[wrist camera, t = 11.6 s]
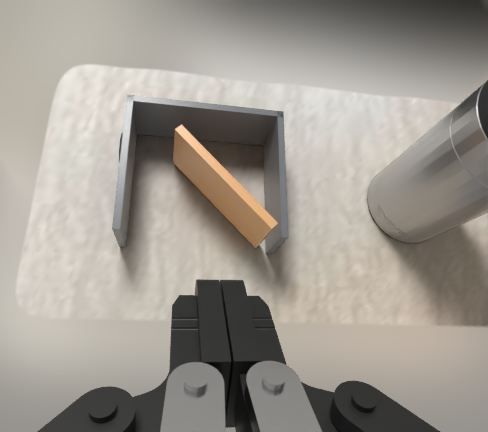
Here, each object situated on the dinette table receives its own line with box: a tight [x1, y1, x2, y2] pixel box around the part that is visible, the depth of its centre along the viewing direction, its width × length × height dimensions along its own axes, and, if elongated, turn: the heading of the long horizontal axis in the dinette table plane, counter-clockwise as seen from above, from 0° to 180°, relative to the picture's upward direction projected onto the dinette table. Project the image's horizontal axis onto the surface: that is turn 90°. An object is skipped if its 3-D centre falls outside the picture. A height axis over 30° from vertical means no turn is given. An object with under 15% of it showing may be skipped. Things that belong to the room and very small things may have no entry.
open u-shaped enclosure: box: [112, 95, 288, 254], centre depth 39 cm, size 13×15×6 cm
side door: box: [173, 124, 278, 248], centre depth 38 cm, size 1×12×7 cm, turn 45°
